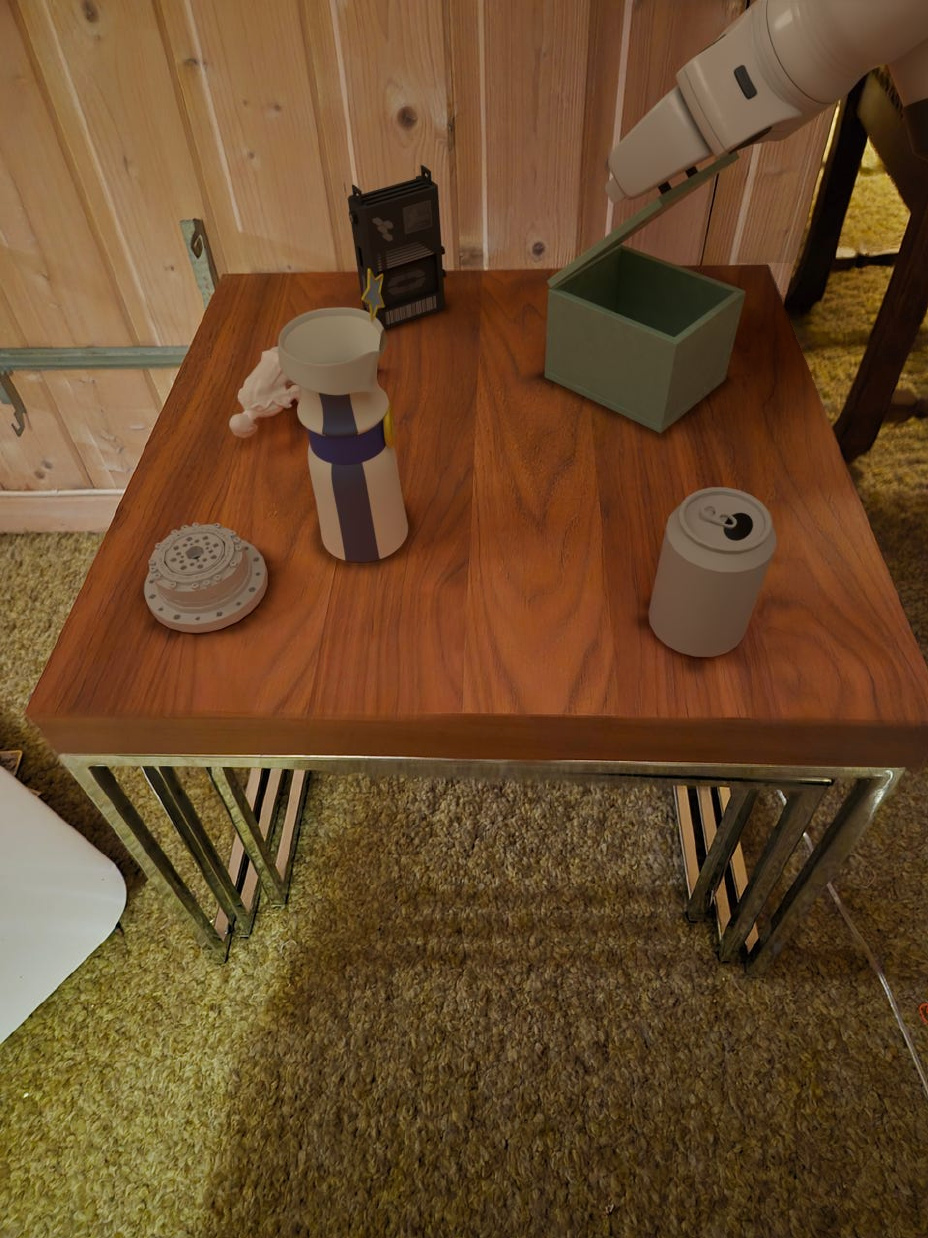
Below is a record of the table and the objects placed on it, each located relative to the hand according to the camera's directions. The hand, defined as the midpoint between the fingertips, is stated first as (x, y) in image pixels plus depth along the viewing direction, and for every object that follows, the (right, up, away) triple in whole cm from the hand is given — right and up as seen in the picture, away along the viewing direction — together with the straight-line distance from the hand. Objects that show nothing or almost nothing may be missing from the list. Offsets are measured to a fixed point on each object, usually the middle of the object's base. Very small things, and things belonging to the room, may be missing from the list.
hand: (645, 173), depth 73 cm
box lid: (0, -3, +4) cm, 5 cm away
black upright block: (-23, -3, +25) cm, 34 cm away
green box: (+2, -14, +15) cm, 20 cm away
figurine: (-33, -17, +14) cm, 39 cm away
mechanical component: (-37, -36, -2) cm, 52 cm away
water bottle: (-24, -31, +2) cm, 39 cm away
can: (+2, -39, -6) cm, 40 cm away
